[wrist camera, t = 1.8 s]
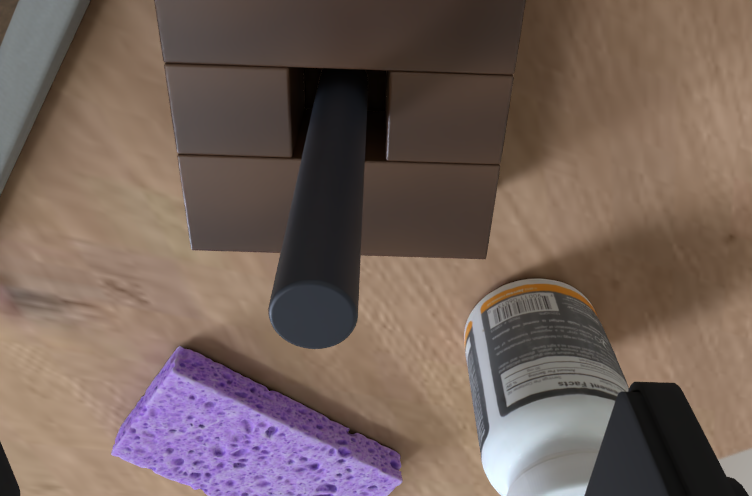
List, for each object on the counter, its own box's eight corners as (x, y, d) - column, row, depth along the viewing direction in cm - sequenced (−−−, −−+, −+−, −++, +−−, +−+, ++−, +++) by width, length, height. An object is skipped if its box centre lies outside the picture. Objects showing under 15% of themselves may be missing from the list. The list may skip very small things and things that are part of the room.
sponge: (327, 518, 37) (324, 549, 35) (115, 425, 33) (102, 457, 31) (405, 451, 34) (406, 483, 32) (181, 340, 30) (170, 370, 28)
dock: (182, -97, 20) (142, -75, 16) (510, -85, 20) (535, -61, 17) (215, 191, 25) (190, 250, 22) (472, 199, 25) (486, 260, 22)
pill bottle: (556, 383, 31) (619, 596, 23) (441, 353, 30) (464, 564, 22) (620, 292, 28) (719, 499, 20) (495, 255, 27) (545, 457, 19)
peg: (321, 45, 22) (265, 280, 11) (369, 47, 22) (358, 283, 11) (322, 91, 23) (270, 349, 12) (368, 93, 23) (356, 352, 12)
